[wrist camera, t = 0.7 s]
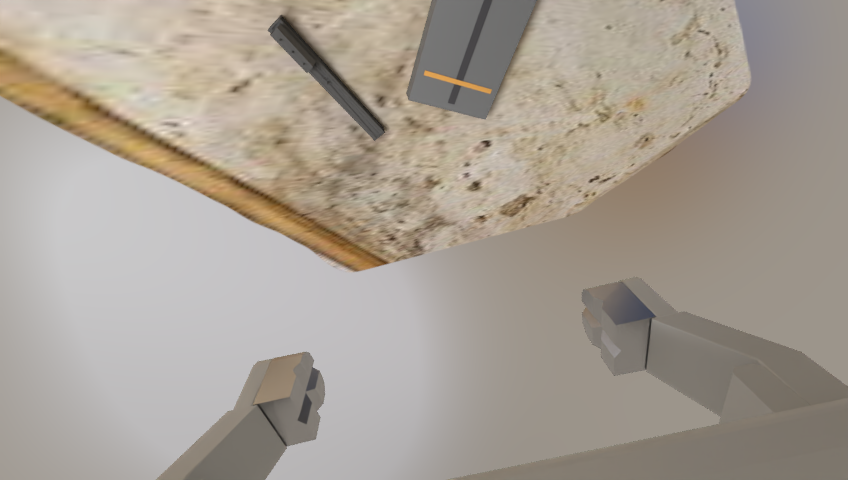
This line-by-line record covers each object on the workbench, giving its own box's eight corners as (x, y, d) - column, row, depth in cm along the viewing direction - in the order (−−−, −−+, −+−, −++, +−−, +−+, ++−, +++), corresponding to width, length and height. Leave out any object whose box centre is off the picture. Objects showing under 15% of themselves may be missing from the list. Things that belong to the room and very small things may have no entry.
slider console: (462, -112, 38) (469, -113, 36) (555, -67, 42) (565, -66, 40) (406, 93, 51) (409, 100, 49) (480, 112, 55) (485, 120, 53)
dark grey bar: (386, 123, 54) (389, 136, 51) (373, 134, 55) (375, 147, 52) (284, 10, 43) (280, 18, 40) (269, 26, 43) (264, 35, 40)
